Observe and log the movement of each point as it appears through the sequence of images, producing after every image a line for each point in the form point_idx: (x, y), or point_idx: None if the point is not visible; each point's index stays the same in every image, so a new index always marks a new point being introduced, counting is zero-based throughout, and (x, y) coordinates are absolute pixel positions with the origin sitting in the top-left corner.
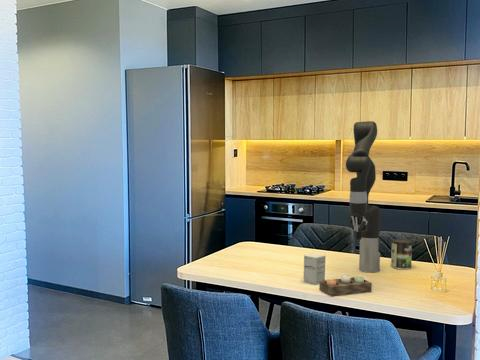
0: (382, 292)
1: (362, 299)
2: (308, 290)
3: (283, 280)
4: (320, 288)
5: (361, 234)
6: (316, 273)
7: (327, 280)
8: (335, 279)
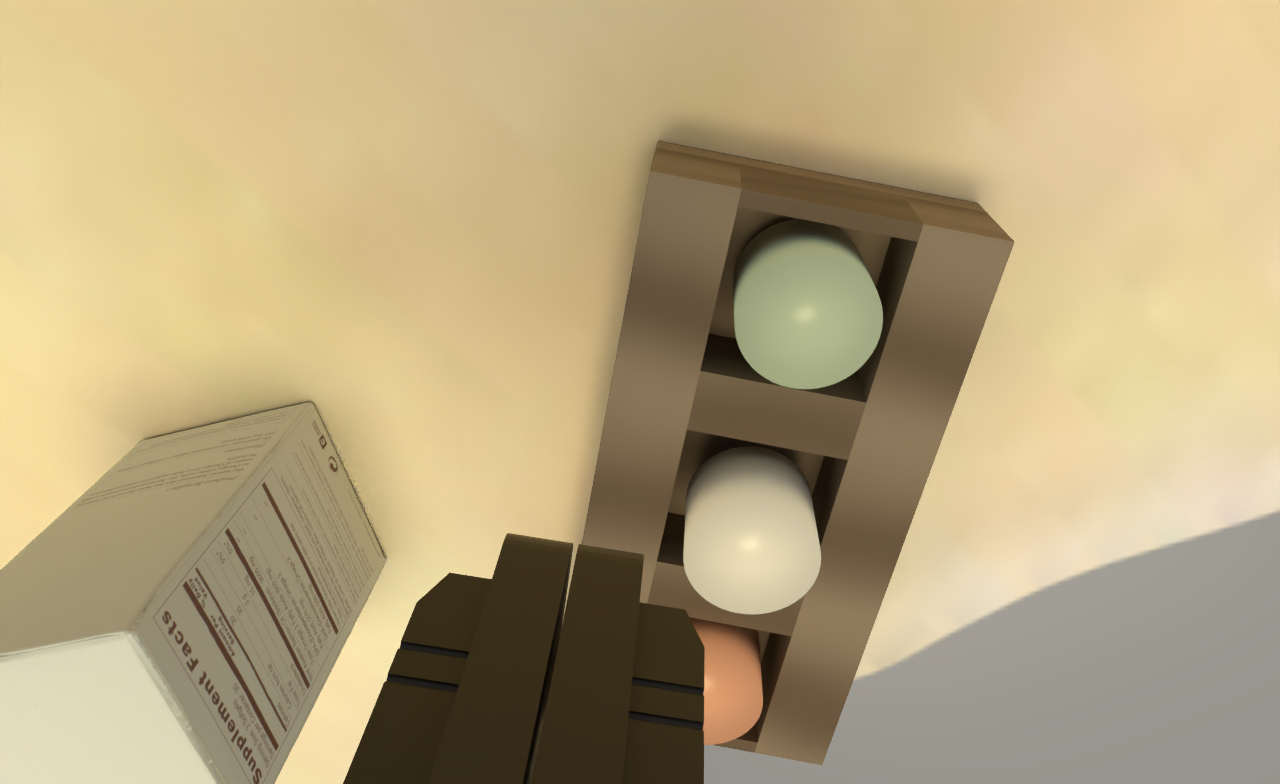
0: (1094, 78)
1: (1090, 504)
2: None
3: None
4: None
5: (702, 766)
6: (339, 644)
7: None
8: (593, 541)
